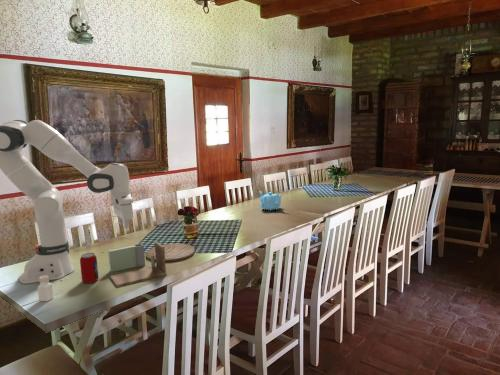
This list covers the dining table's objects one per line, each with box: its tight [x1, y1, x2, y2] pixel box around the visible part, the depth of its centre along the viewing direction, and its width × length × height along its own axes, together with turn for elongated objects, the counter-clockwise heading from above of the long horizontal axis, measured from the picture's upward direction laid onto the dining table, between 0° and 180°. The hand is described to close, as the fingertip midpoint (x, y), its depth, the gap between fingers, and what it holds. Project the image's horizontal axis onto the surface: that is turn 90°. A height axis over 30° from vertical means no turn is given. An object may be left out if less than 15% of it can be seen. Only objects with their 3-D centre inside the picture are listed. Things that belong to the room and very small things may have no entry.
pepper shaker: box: [37, 275, 55, 302], centre depth 148 cm, size 4×4×10 cm
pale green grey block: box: [107, 243, 146, 273], centre depth 180 cm, size 16×4×10 cm, turn 123°
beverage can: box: [79, 252, 99, 284], centre depth 165 cm, size 7×7×12 cm
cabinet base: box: [109, 241, 168, 288], centre depth 169 cm, size 22×12×13 cm, turn 123°
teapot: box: [259, 190, 283, 211], centre depth 292 cm, size 16×20×14 cm
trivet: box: [145, 243, 195, 264], centre depth 198 cm, size 25×25×2 cm
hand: (123, 226), depth 177 cm, fingers open, 8 cm apart
